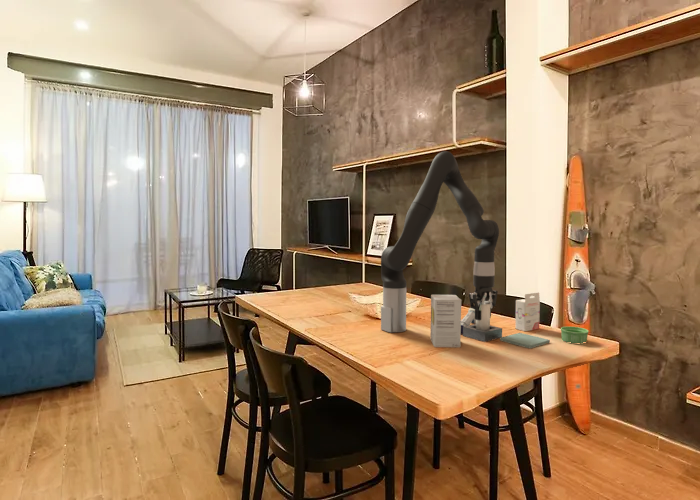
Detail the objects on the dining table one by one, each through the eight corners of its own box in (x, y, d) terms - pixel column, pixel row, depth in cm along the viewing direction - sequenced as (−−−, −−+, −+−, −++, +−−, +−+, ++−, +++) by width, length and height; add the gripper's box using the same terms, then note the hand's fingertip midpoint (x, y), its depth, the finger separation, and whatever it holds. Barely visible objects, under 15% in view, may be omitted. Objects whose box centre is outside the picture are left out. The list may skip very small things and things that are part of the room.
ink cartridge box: (529, 326, 179) (530, 290, 178) (539, 328, 175) (540, 292, 174) (514, 328, 175) (515, 292, 174) (524, 331, 171) (525, 294, 170)
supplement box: (429, 339, 160) (430, 294, 159) (455, 339, 160) (456, 294, 158) (434, 347, 150) (434, 299, 149) (461, 347, 150) (461, 299, 149)
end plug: (483, 335, 160) (484, 306, 159) (472, 332, 164) (473, 303, 163) (492, 333, 163) (493, 304, 162) (481, 330, 167) (482, 302, 166)
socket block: (484, 341, 157) (485, 332, 156) (462, 335, 165) (463, 326, 165) (502, 337, 162) (502, 328, 162) (480, 331, 170) (480, 322, 170)
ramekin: (576, 346, 152) (576, 333, 151) (554, 339, 160) (555, 327, 159) (594, 343, 155) (594, 331, 155) (572, 336, 163) (572, 325, 163)
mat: (530, 348, 149) (530, 345, 149) (499, 340, 158) (500, 337, 158) (549, 342, 156) (549, 339, 155) (519, 335, 165) (519, 332, 165)
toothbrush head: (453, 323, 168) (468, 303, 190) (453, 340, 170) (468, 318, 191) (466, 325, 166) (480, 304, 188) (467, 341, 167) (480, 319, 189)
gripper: (479, 276, 155) (478, 323, 156) (504, 273, 163) (503, 318, 164) (463, 274, 161) (462, 319, 162) (487, 271, 169) (486, 314, 170)
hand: (483, 318), depth 163 cm, fingers closed on end plug, 5 cm apart
